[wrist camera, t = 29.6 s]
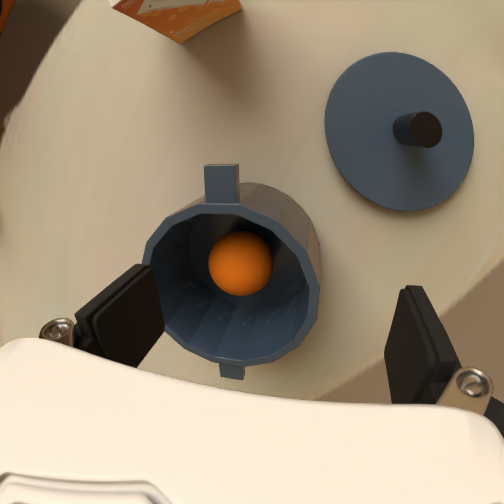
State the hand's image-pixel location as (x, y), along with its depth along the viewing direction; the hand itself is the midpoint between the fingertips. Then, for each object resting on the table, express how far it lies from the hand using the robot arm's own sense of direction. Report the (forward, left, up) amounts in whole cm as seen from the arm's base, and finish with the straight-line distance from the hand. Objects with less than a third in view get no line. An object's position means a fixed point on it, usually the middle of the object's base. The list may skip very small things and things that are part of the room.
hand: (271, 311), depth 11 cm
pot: (+5, +6, -21) cm, 22 cm away
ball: (+5, +6, -20) cm, 22 cm away
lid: (-10, -8, -20) cm, 24 cm away
